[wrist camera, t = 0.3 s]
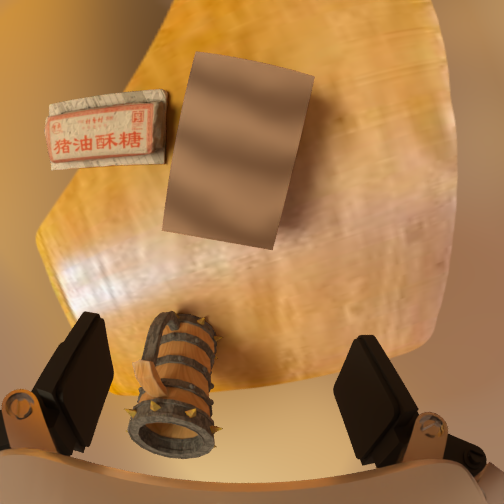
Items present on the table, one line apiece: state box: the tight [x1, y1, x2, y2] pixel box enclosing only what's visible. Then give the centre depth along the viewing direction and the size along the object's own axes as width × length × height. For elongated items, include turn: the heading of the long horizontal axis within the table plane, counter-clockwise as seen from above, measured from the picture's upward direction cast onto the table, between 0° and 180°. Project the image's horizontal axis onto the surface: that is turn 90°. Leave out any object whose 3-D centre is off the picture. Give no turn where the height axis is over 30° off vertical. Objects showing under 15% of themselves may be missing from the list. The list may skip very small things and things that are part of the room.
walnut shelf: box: [162, 52, 315, 250], centre depth 32 cm, size 19×12×9 cm, turn 168°
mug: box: [125, 311, 223, 459], centre depth 37 cm, size 13×17×20 cm
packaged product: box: [44, 89, 168, 170], centre depth 32 cm, size 18×5×10 cm
